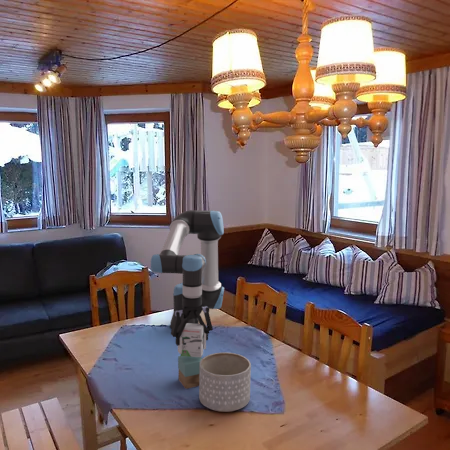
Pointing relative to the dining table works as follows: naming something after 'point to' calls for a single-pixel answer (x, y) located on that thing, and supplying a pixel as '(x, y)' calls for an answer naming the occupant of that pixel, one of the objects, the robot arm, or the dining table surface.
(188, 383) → the tower bottom block
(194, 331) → the ink box
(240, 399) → the planter
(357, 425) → the dining table surface
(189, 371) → the tower top block
